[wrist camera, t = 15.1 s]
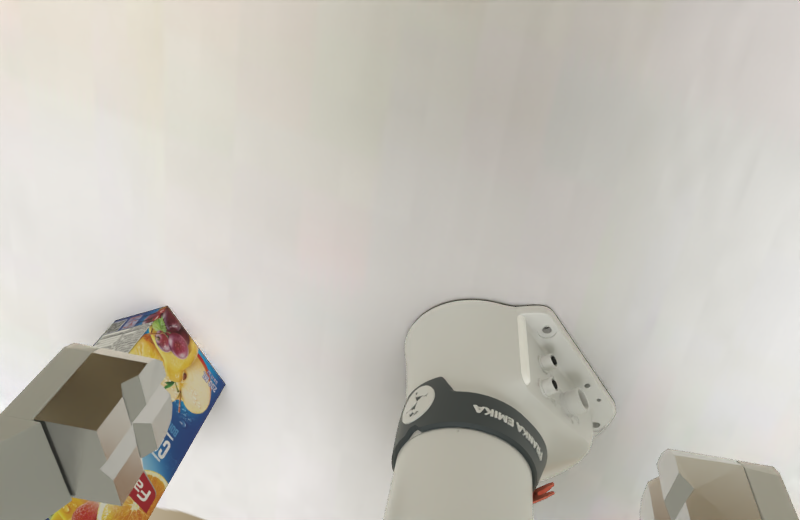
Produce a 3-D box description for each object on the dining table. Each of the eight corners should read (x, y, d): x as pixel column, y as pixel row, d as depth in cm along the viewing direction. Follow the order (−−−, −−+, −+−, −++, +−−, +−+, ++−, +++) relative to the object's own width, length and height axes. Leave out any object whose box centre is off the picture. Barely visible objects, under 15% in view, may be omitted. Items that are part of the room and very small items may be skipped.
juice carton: (226, 384, 70) (107, 592, 50) (175, 395, 72) (44, 596, 53) (166, 304, 64) (8, 503, 45) (115, 319, 67) (-57, 512, 47)
